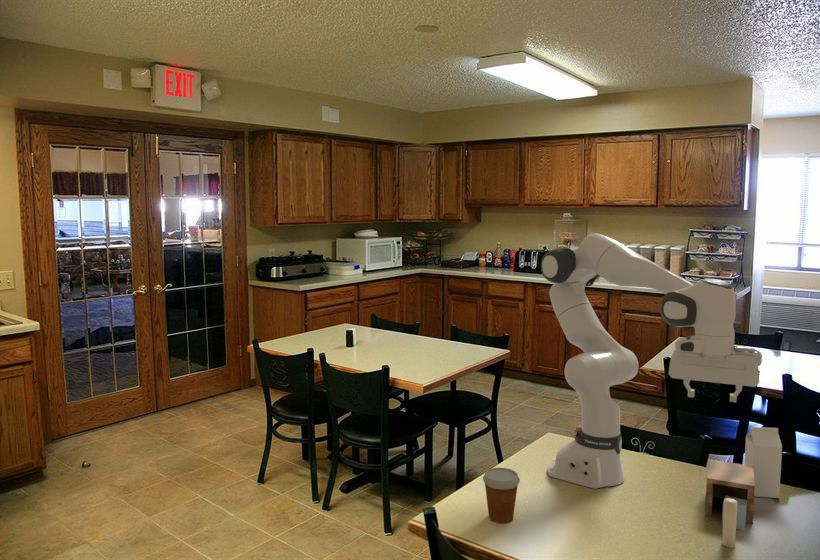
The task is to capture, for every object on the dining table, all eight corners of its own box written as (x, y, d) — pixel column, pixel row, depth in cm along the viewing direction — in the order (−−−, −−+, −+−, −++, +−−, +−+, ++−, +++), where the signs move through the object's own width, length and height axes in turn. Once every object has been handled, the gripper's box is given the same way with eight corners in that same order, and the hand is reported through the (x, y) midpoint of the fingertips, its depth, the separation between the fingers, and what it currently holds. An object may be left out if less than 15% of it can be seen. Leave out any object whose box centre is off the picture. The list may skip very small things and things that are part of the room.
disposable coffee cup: (496, 530, 155) (497, 484, 154) (475, 514, 164) (475, 471, 162) (526, 521, 160) (527, 477, 158) (504, 506, 168) (505, 464, 167)
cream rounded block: (716, 544, 148) (718, 500, 147) (724, 517, 161) (726, 477, 160) (739, 550, 145) (741, 505, 144) (746, 522, 158) (748, 481, 157)
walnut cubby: (705, 514, 162) (706, 477, 161) (707, 493, 175) (708, 459, 174) (752, 524, 157) (754, 486, 156) (751, 501, 170) (753, 466, 169)
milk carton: (779, 498, 171) (783, 432, 169) (751, 496, 173) (754, 431, 171) (769, 487, 178) (773, 424, 176) (743, 485, 180) (746, 422, 178)
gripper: (761, 346, 150) (759, 401, 151) (671, 339, 160) (669, 390, 161) (762, 351, 144) (759, 408, 146) (668, 343, 154) (667, 397, 155)
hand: (711, 399), depth 154 cm, fingers open, 8 cm apart
